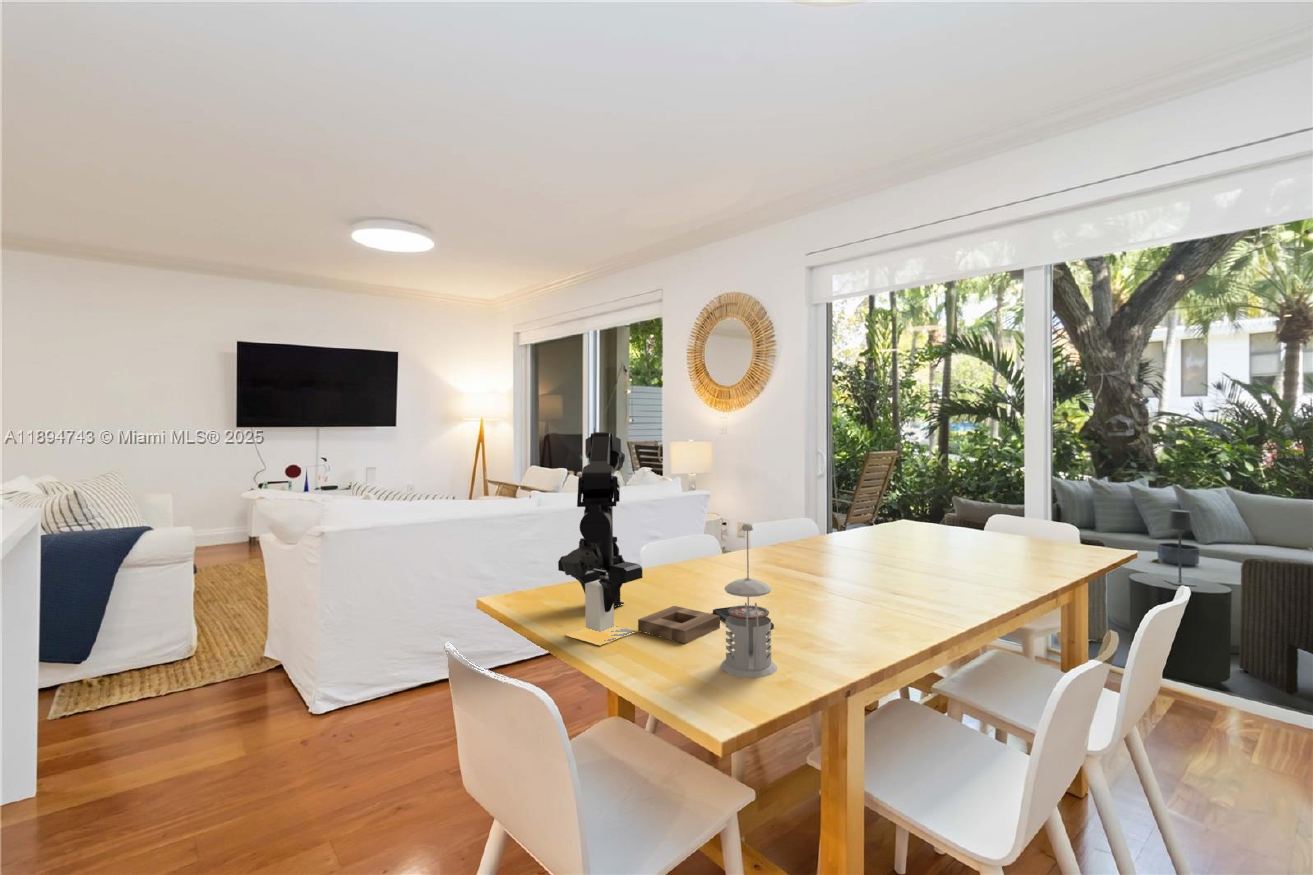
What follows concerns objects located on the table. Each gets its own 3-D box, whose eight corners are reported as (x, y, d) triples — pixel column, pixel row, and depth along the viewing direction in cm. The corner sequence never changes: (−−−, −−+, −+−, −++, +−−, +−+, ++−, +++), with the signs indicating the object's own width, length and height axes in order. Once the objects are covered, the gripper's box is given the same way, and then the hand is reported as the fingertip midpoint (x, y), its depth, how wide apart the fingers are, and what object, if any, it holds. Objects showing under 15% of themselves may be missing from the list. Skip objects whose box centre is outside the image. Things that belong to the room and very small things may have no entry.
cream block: (585, 627, 128) (585, 583, 127) (599, 622, 131) (599, 579, 130) (600, 631, 125) (599, 586, 125) (613, 626, 128) (613, 582, 128)
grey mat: (564, 636, 127) (564, 634, 127) (599, 623, 135) (599, 621, 135) (600, 646, 121) (600, 644, 121) (635, 632, 129) (635, 630, 129)
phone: (742, 605, 144) (775, 624, 130) (742, 610, 144) (775, 630, 130) (710, 609, 142) (741, 629, 127) (710, 614, 142) (741, 635, 127)
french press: (773, 656, 115) (771, 518, 114) (783, 682, 103) (782, 529, 103) (718, 656, 115) (717, 519, 115) (723, 682, 104) (721, 530, 103)
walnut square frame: (638, 631, 129) (638, 619, 129) (674, 617, 139) (673, 605, 139) (685, 643, 122) (685, 630, 122) (719, 627, 131) (719, 615, 131)
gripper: (537, 534, 127) (538, 611, 128) (604, 544, 115) (605, 629, 116) (577, 526, 136) (578, 598, 136) (643, 535, 124) (644, 614, 124)
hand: (599, 609), depth 128 cm, fingers closed on cream block, 4 cm apart
